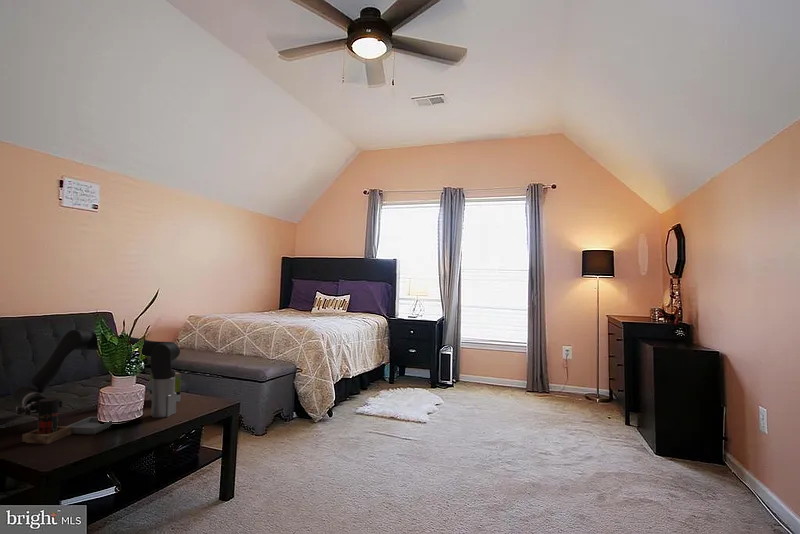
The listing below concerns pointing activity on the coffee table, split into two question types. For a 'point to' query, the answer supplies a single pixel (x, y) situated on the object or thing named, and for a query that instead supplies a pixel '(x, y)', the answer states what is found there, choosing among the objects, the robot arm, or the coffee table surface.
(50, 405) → the deodorant
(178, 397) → the tea box
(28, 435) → the socket block
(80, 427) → the tray
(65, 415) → the coffee table surface
